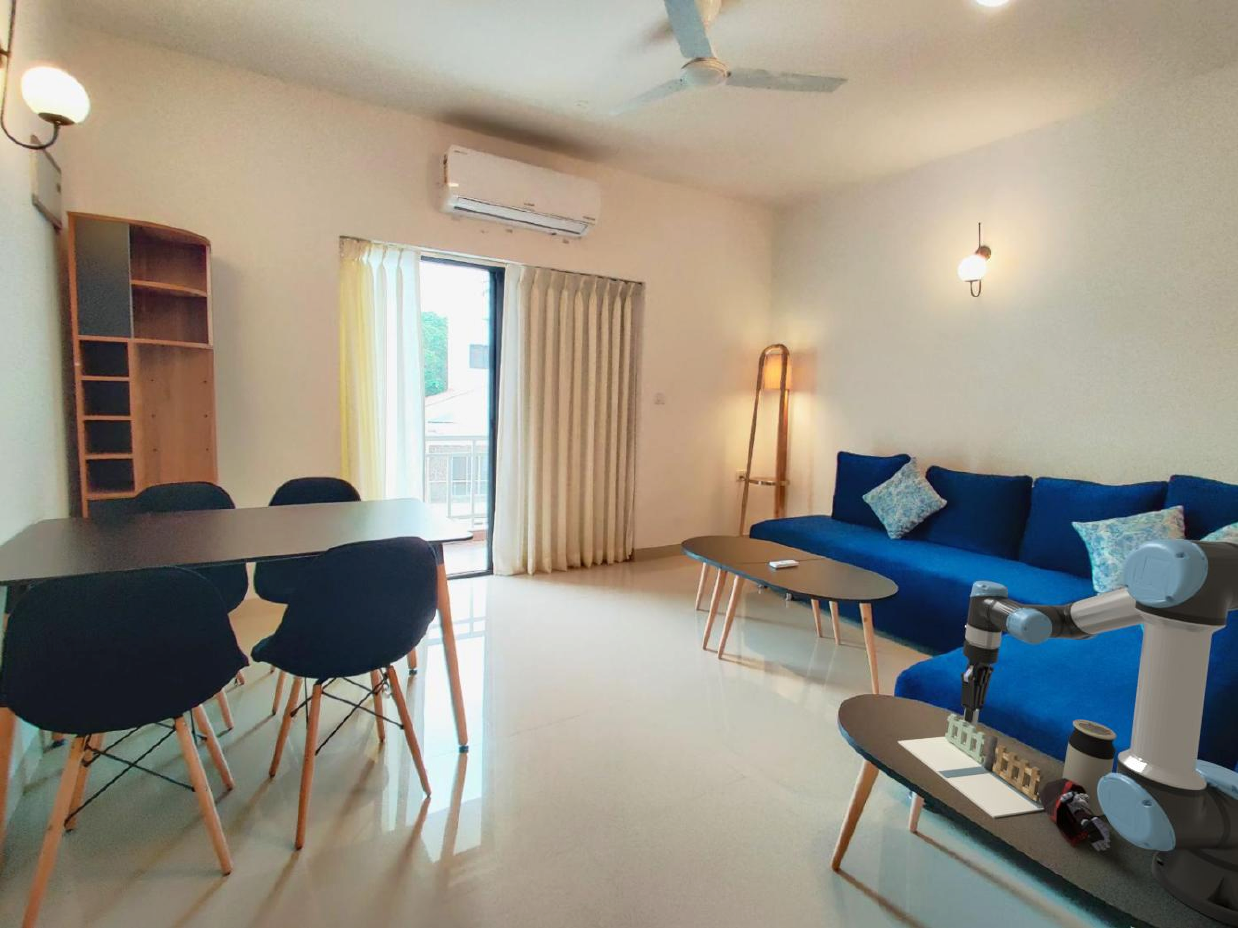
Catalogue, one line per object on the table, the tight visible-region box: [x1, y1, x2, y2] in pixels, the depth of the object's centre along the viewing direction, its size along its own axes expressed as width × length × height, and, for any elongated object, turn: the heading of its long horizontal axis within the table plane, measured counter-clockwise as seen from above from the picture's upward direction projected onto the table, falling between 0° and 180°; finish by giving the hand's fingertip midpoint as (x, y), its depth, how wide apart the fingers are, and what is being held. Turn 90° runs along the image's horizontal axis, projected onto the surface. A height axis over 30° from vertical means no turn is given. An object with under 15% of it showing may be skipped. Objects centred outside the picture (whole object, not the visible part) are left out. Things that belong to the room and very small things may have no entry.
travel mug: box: [1061, 719, 1117, 817], centre depth 132 cm, size 8×8×18 cm
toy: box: [1038, 778, 1111, 852], centre depth 123 cm, size 12×9×15 cm
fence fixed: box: [984, 734, 1044, 801], centre depth 137 cm, size 13×2×8 cm, turn 16°
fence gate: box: [944, 713, 988, 763], centre depth 149 cm, size 11×1×7 cm, turn 16°
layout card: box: [897, 735, 1045, 819], centre depth 141 cm, size 28×18×1 cm, turn 16°
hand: (968, 732), depth 151 cm, fingers closed
